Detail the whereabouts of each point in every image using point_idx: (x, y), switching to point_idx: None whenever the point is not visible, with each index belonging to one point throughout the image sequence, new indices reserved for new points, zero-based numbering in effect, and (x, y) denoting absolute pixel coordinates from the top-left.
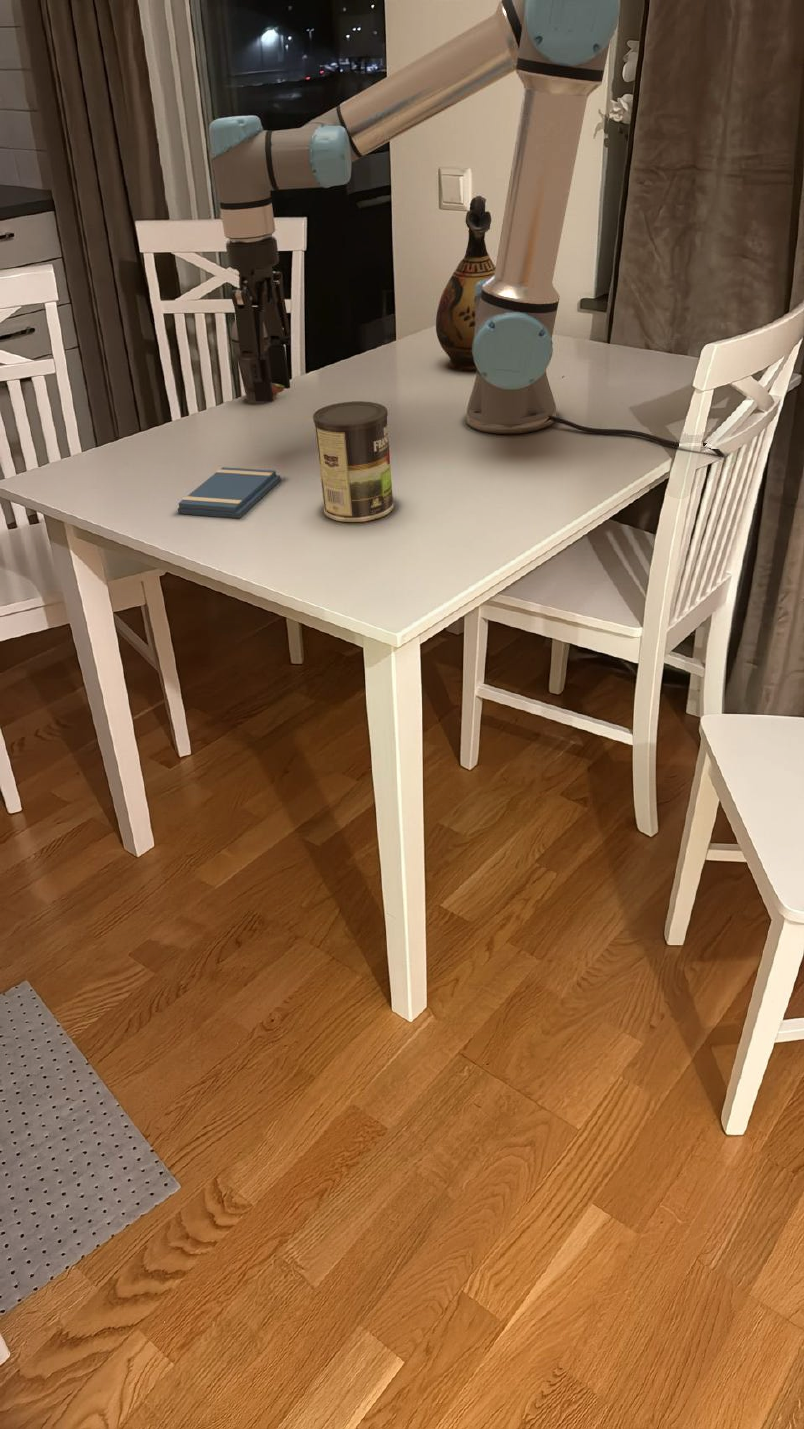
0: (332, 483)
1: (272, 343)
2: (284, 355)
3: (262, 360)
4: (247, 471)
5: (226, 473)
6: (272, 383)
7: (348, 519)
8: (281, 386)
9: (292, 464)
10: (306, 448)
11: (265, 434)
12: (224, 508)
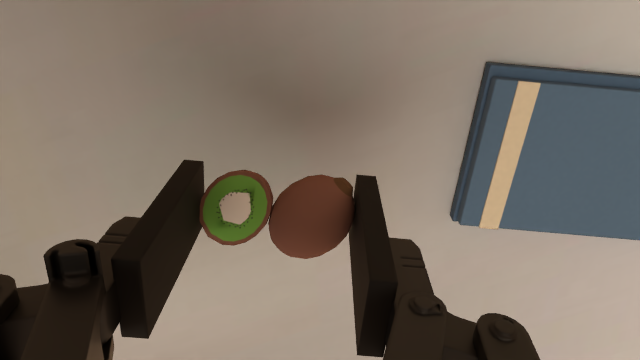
0: None
1: (112, 330)
2: (149, 233)
3: (394, 293)
4: (501, 153)
5: (506, 202)
6: (307, 211)
7: None
8: (246, 182)
9: (365, 68)
10: (237, 67)
11: None
12: None
